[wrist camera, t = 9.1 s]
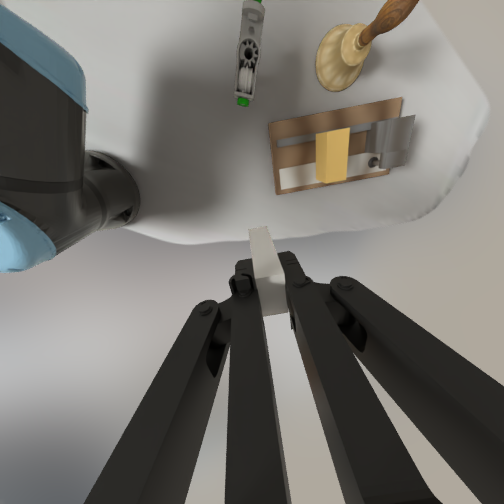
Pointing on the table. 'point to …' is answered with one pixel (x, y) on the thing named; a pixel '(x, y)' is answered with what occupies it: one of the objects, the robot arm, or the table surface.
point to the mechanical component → (248, 51)
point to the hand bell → (355, 45)
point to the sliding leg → (332, 155)
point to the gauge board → (359, 151)
